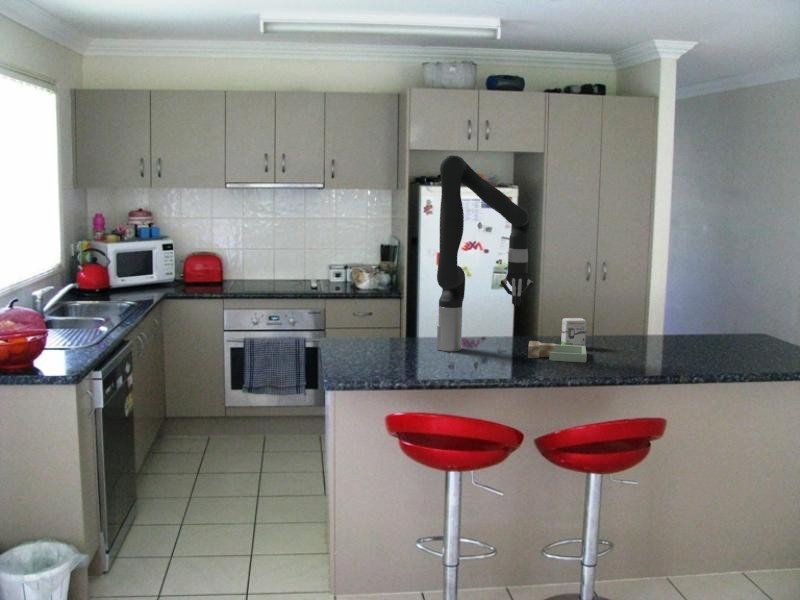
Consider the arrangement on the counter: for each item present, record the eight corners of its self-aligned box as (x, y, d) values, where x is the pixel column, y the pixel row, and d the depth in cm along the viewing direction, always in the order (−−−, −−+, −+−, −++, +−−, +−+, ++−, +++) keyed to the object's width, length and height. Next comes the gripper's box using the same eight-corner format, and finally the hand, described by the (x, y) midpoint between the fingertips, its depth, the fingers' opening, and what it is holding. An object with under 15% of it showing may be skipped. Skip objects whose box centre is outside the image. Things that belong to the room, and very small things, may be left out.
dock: (549, 360, 319) (549, 352, 319) (549, 351, 335) (550, 344, 334) (586, 362, 317) (586, 354, 316) (585, 353, 332) (585, 346, 332)
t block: (528, 357, 324) (528, 346, 323) (529, 352, 333) (529, 341, 333) (554, 358, 322) (555, 347, 321) (555, 353, 331) (555, 342, 331)
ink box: (564, 349, 340) (566, 320, 338) (560, 346, 345) (561, 318, 343) (585, 348, 341) (586, 320, 339) (580, 346, 346) (582, 317, 344)
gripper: (499, 260, 321) (497, 306, 324) (535, 262, 319) (533, 307, 322) (500, 258, 329) (499, 303, 331) (535, 260, 326) (534, 304, 329)
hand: (516, 305), depth 326 cm, fingers closed
